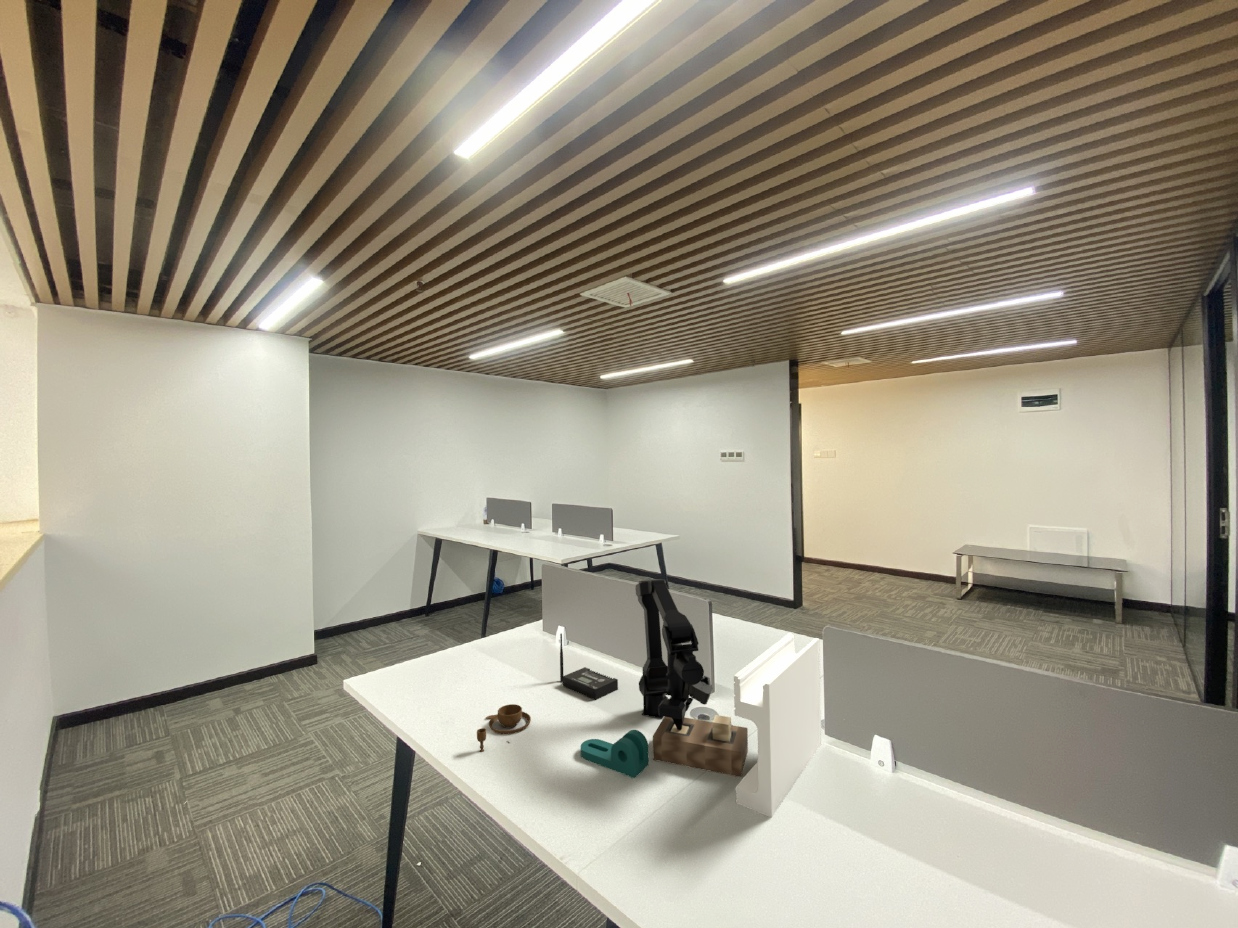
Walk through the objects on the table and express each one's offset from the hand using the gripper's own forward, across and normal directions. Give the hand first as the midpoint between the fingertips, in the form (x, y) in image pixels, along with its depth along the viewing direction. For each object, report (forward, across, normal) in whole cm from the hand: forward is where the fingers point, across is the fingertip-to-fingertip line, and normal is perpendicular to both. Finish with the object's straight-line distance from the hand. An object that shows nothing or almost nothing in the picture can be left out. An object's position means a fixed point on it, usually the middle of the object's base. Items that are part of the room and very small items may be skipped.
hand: (679, 729), depth 133 cm
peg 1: (+6, 0, 0) cm, 6 cm away
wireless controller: (+6, +28, +40) cm, 49 cm away
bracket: (+6, -10, +15) cm, 19 cm away
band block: (+6, 0, -6) cm, 8 cm away
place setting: (+6, -6, +52) cm, 53 cm away
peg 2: (+2, 0, -11) cm, 11 cm away
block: (+6, 0, -26) cm, 26 cm away
